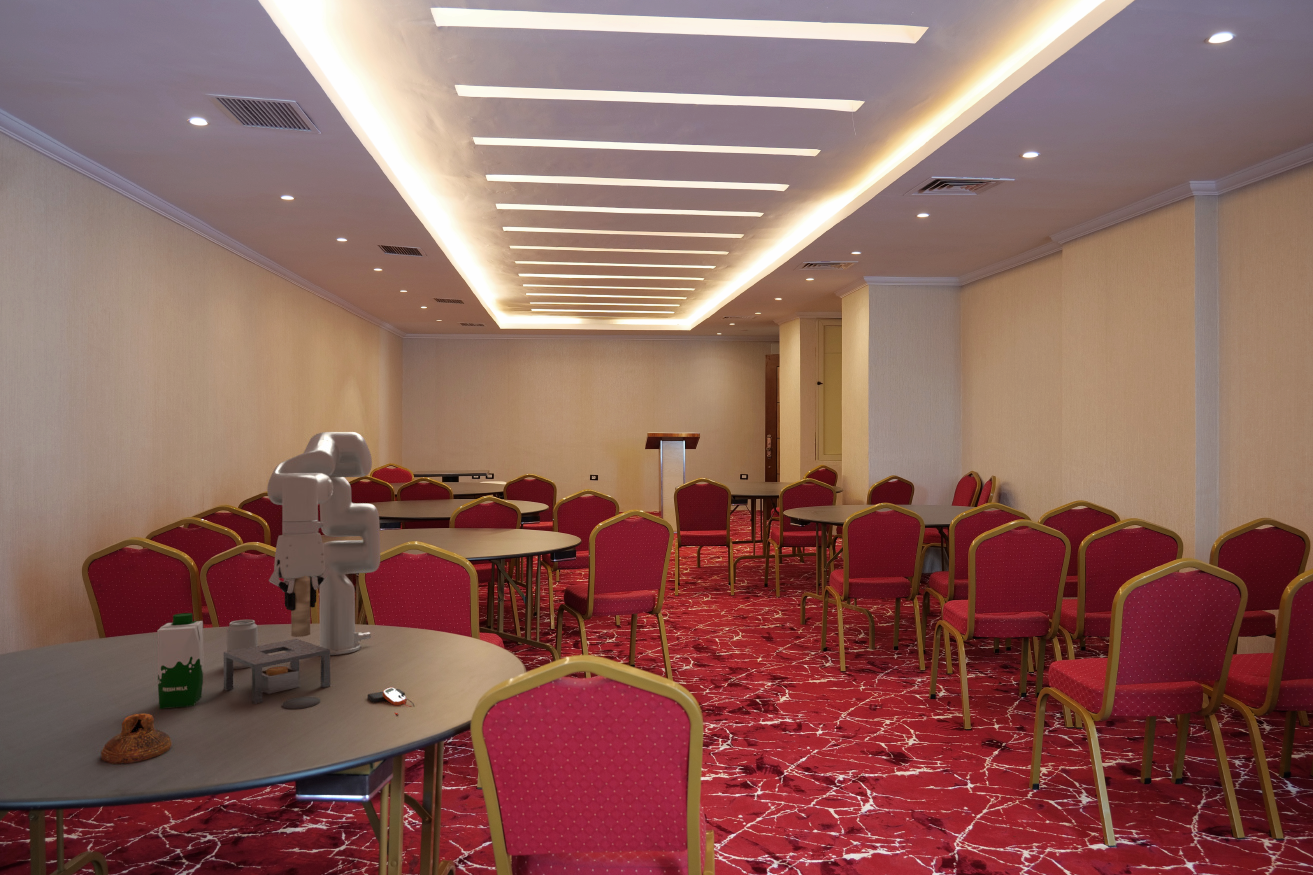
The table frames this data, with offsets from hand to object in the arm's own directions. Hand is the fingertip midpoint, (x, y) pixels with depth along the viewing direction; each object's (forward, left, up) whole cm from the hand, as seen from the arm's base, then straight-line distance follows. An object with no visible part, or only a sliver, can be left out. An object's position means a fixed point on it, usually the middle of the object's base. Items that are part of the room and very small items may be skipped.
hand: (300, 607), depth 191 cm
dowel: (0, 0, -6) cm, 6 cm away
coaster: (0, 0, -22) cm, 22 cm away
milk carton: (+18, -22, -22) cm, 36 cm away
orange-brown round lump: (-2, -17, -22) cm, 28 cm away
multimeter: (-15, +18, -23) cm, 33 cm away
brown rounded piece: (+35, +5, -22) cm, 42 cm away
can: (-5, -45, -22) cm, 51 cm away
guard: (-2, -17, -22) cm, 28 cm away
